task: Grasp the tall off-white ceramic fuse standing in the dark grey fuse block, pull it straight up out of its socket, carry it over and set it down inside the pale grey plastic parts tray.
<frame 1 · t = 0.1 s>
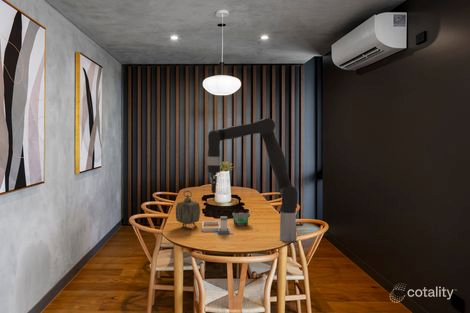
hand: (213, 191, 198), 29 cm above the table, fingers open, 8 cm apart
fuse block: (223, 234, 213), on the table
food container: (241, 227, 231), on the table
tabletop clock: (187, 228, 227), on the table
fuse: (223, 232, 213), point 1 cm above the table, touching fuse block
parts tray: (210, 229, 225), on the table
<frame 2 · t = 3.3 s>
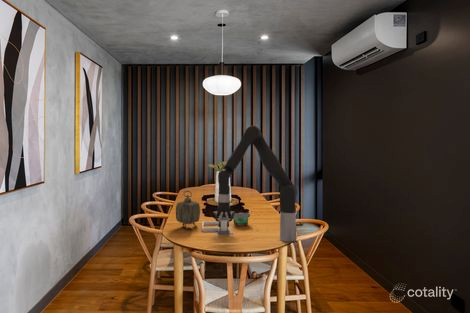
hand: (223, 227, 213), 4 cm above the table, fingers closed on fuse, 4 cm apart
fuse: (223, 232, 213), point 1 cm above the table, touching fuse block, gripper
everything else where it was.
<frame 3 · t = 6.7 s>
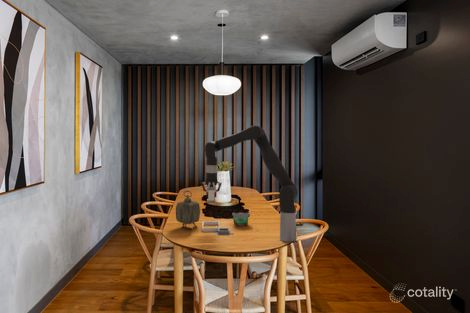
hand: (211, 197, 224), 21 cm above the table, fingers closed on fuse, 4 cm apart
fuse: (211, 202, 224), point 18 cm above the table, touching gripper
everything else where it was.
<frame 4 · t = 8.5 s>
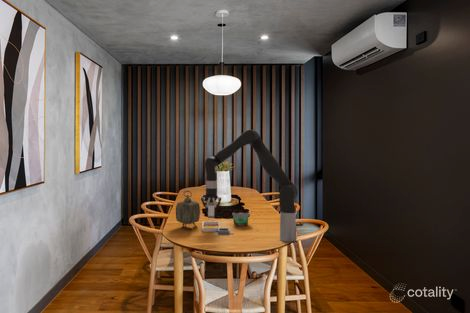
hand: (211, 212, 224), 11 cm above the table, fingers closed on fuse, 4 cm apart
fuse: (211, 217, 224), point 8 cm above the table, touching gripper
everything else where it was.
when the fingers open (5 cm above the table, at t = 10.1 s): fuse drops 1 cm, resting on parts tray.
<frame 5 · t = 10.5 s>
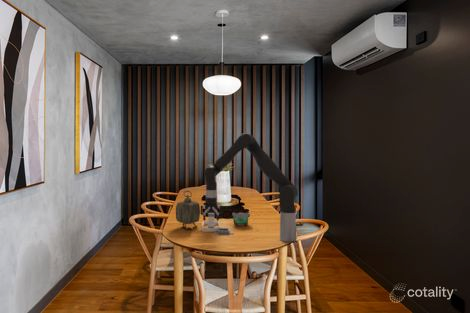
hand: (211, 220, 224), 6 cm above the table, fingers open, 8 cm apart
fuse: (211, 228, 225), point 1 cm above the table, touching parts tray
everything else where it was.
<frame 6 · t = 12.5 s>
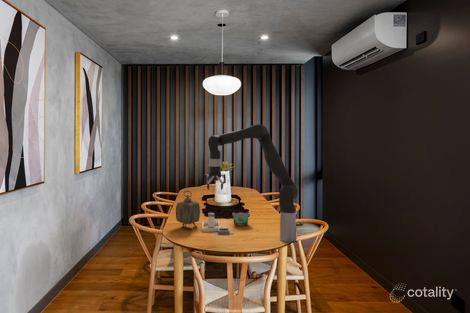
hand: (215, 189, 226), 26 cm above the table, fingers open, 8 cm apart
nothing on the table moved.
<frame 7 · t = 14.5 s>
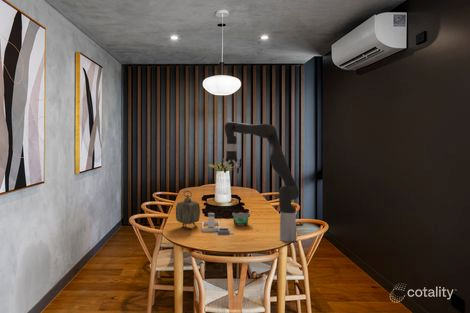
hand: (231, 173, 239), 36 cm above the table, fingers open, 8 cm apart
nothing on the table moved.
at the end: fuse inside the target area on the parts tray (0.2 cm from its centre), point 0.6 cm above the parts tray's base; fuse tilted 0°; the gripper is holding nothing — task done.
